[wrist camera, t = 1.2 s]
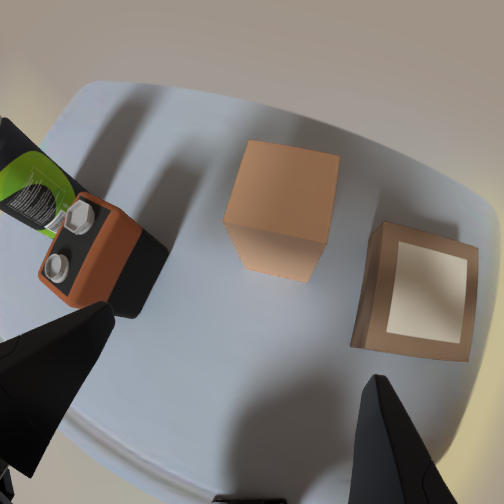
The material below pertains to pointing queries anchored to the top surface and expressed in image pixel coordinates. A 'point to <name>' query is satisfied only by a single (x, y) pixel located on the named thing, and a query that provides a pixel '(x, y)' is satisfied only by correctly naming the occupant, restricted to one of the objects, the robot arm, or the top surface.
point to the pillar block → (282, 208)
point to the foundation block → (417, 295)
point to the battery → (102, 258)
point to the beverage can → (33, 182)
